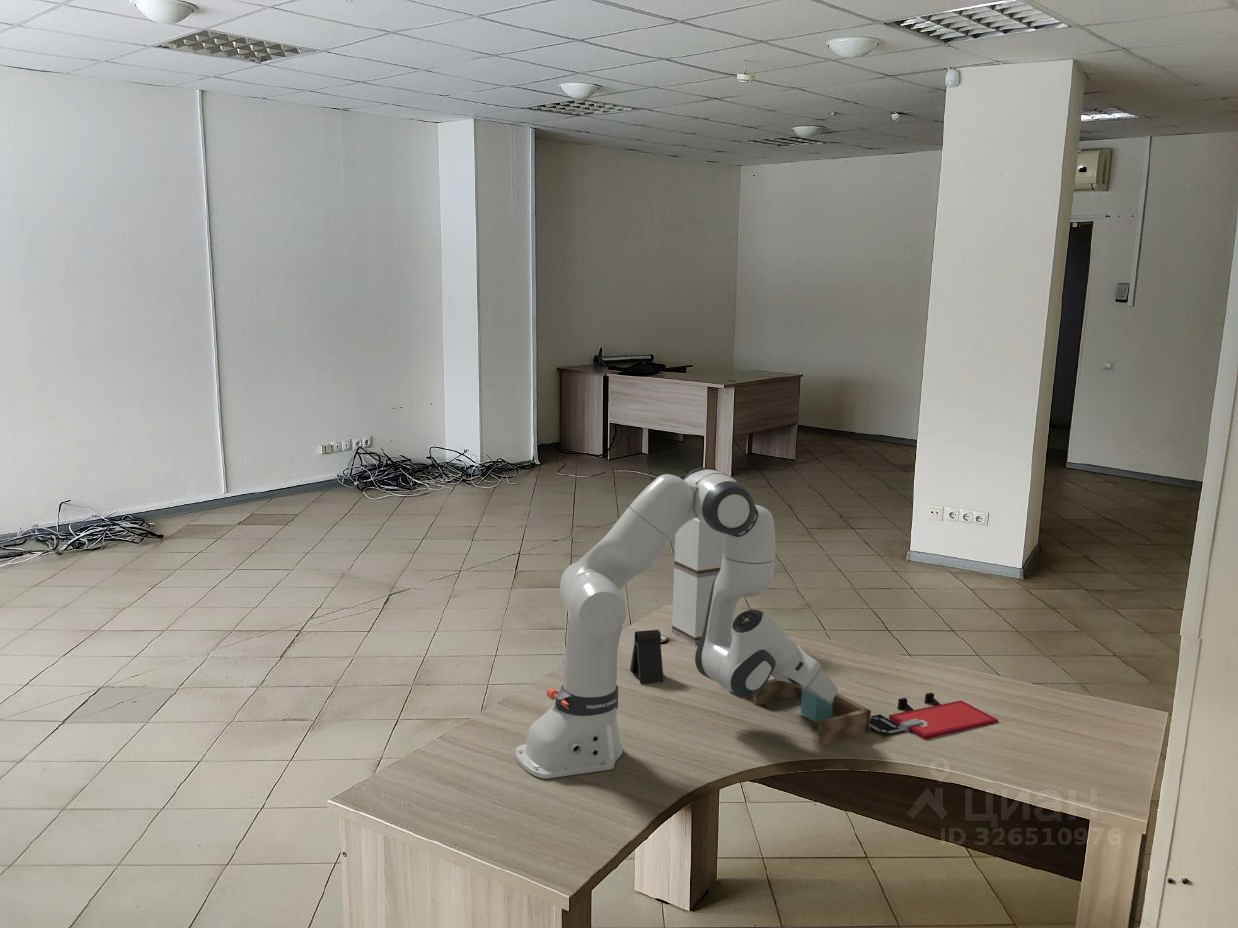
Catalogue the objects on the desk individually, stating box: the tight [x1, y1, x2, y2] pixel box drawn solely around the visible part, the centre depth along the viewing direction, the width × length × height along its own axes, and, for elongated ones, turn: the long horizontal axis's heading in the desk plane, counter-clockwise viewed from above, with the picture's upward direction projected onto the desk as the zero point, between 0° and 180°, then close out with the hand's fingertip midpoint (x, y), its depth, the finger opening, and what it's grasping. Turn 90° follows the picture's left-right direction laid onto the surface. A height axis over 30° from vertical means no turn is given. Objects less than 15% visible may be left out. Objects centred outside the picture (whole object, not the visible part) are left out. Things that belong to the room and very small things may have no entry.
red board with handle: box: [870, 692, 999, 741], centre depth 220 cm, size 30×3×15 cm
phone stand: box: [629, 629, 665, 685], centre depth 241 cm, size 9×6×12 cm, turn 17°
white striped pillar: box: [671, 518, 724, 645], centre depth 270 cm, size 11×11×35 cm
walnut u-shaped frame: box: [752, 678, 872, 746], centre depth 220 cm, size 14×24×5 cm, turn 30°
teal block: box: [800, 689, 833, 723], centre depth 221 cm, size 5×5×8 cm
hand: (816, 693), depth 220 cm, fingers open, 8 cm apart
